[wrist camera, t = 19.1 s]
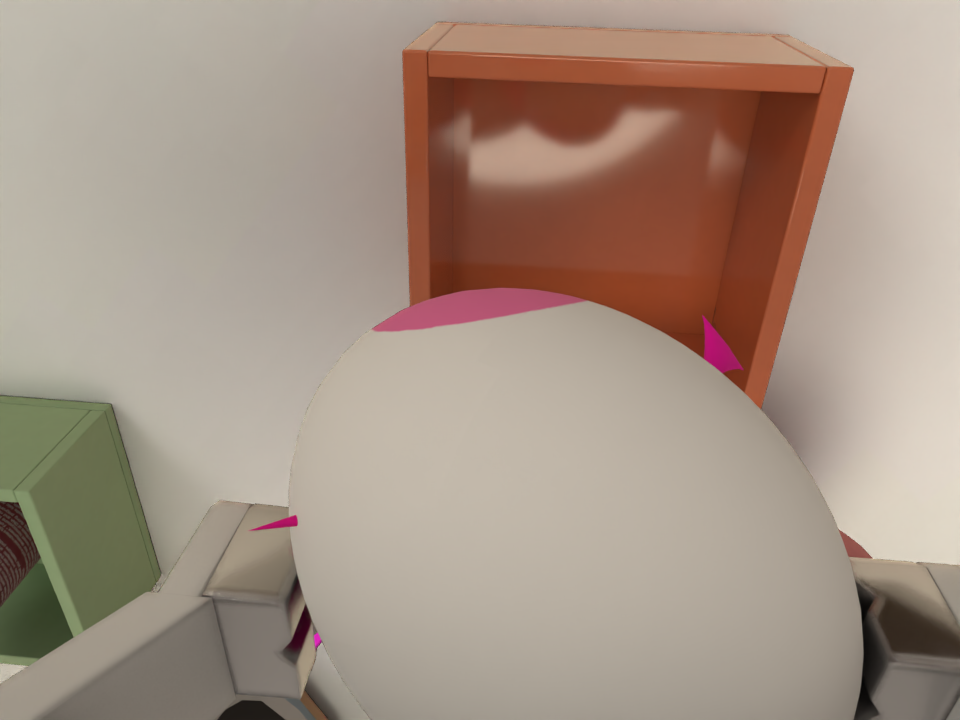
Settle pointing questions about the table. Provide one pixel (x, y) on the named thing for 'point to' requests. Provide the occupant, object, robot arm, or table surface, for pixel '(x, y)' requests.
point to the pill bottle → (14, 549)
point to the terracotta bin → (621, 172)
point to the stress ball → (564, 525)
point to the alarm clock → (271, 709)
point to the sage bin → (69, 523)
